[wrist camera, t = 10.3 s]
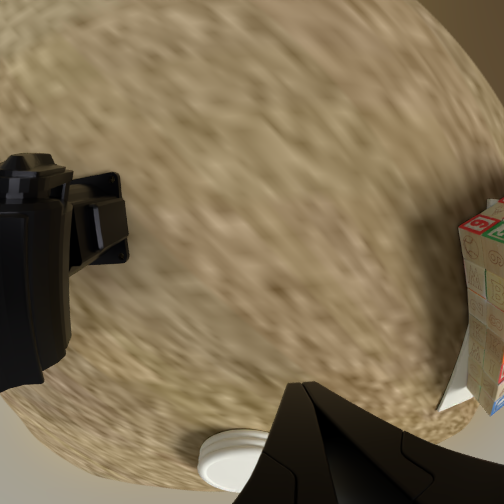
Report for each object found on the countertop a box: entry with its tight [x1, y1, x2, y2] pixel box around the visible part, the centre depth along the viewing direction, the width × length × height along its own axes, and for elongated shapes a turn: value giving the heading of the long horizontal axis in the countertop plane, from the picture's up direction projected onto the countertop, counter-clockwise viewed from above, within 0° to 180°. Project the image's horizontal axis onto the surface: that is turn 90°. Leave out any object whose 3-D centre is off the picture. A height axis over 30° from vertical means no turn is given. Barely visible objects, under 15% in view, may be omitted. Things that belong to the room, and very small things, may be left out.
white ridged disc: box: [197, 429, 269, 493], centre depth 24 cm, size 10×10×4 cm
